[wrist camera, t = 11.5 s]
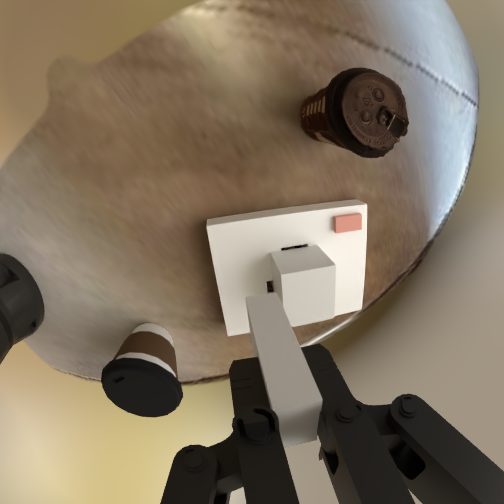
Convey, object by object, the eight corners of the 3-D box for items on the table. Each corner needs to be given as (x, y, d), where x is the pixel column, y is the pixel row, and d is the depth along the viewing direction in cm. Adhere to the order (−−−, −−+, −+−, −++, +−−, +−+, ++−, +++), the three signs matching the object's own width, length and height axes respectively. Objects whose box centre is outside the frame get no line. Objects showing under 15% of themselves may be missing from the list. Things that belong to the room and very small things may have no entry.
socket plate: (353, 299, 42) (363, 312, 39) (227, 323, 41) (228, 339, 37) (356, 199, 36) (370, 205, 32) (207, 219, 35) (206, 228, 31)
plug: (311, 283, 40) (334, 318, 32) (271, 290, 39) (284, 328, 31) (310, 237, 37) (335, 264, 29) (266, 244, 37) (281, 274, 28)
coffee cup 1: (106, 328, 39) (83, 382, 28) (154, 296, 38) (137, 353, 27) (152, 370, 43) (142, 426, 32) (201, 345, 42) (200, 405, 31)
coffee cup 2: (361, 141, 33) (424, 147, 21) (306, 160, 33) (354, 173, 21) (339, 80, 30) (396, 58, 18) (280, 96, 30) (318, 72, 18)
